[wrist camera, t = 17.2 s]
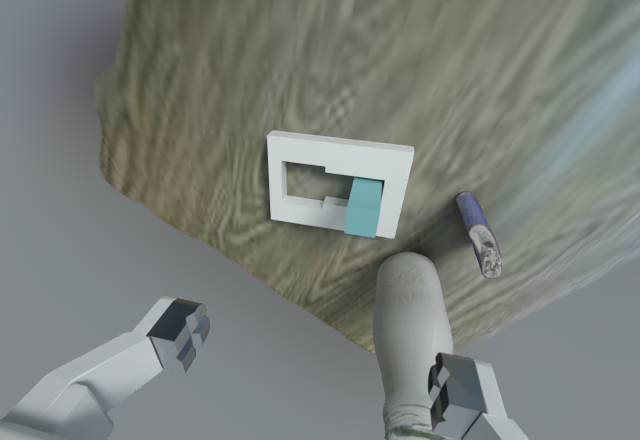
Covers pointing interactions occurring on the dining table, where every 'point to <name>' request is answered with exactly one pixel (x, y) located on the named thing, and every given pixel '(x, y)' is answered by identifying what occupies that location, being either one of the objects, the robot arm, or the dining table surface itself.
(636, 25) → the dining table surface
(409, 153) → the keyhole plate
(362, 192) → the key block
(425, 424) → the white bottle
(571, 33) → the dining table surface
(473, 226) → the flask
